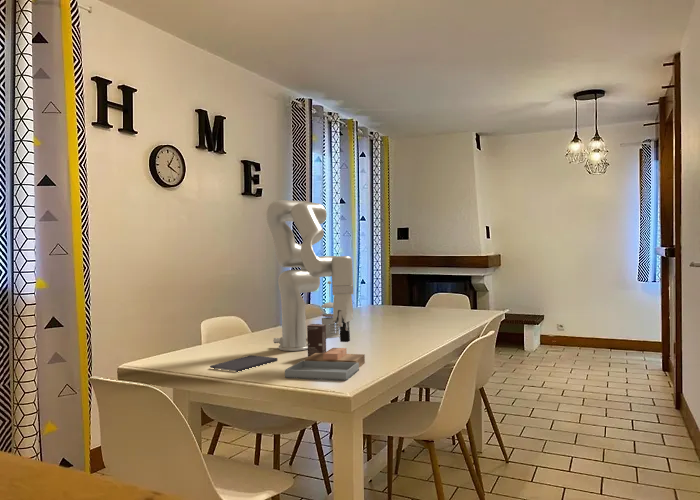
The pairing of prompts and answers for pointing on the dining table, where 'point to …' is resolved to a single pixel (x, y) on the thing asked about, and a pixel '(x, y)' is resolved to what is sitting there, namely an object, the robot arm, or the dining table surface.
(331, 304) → the french press
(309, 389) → the dining table surface
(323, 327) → the box
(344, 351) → the tile
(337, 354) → the tile
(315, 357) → the brown slab
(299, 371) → the tray
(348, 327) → the robot arm
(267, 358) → the notebook
